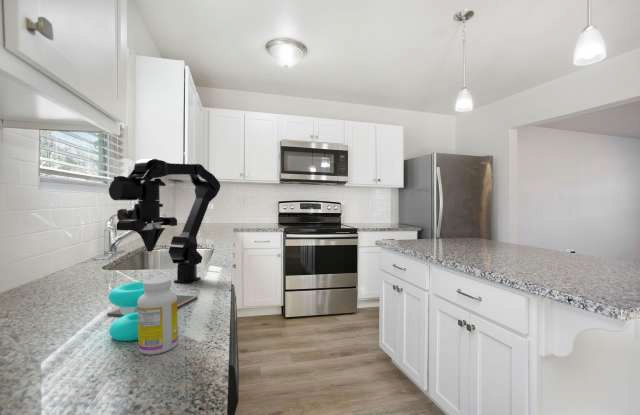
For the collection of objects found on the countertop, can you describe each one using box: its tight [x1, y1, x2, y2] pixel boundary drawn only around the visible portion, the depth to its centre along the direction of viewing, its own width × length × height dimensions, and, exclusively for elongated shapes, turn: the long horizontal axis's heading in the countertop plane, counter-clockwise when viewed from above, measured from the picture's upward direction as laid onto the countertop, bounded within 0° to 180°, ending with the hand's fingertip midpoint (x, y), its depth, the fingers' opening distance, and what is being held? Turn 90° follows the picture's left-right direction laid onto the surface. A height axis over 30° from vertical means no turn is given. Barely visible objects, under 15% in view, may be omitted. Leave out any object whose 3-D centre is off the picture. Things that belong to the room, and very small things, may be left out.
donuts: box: [108, 280, 145, 342], centre depth 65 cm, size 10×10×10 cm
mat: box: [106, 294, 199, 318], centre depth 81 cm, size 16×14×1 cm
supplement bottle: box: [137, 277, 179, 356], centre depth 58 cm, size 7×7×13 cm
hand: (149, 251), depth 94 cm, fingers closed
